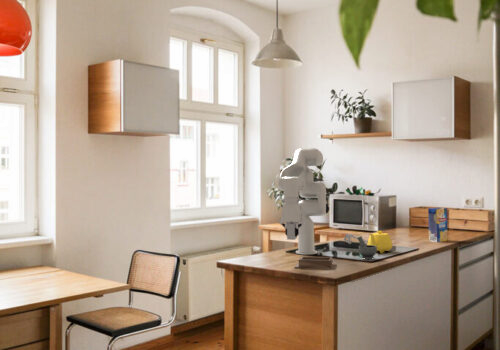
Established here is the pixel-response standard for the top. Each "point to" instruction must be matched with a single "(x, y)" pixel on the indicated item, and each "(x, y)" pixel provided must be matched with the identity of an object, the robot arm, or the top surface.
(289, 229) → the bracket block
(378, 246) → the teapot
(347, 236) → the bracket
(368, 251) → the mortar and pestle
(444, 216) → the blue food box
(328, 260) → the brown wooden base plate
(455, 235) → the top surface
